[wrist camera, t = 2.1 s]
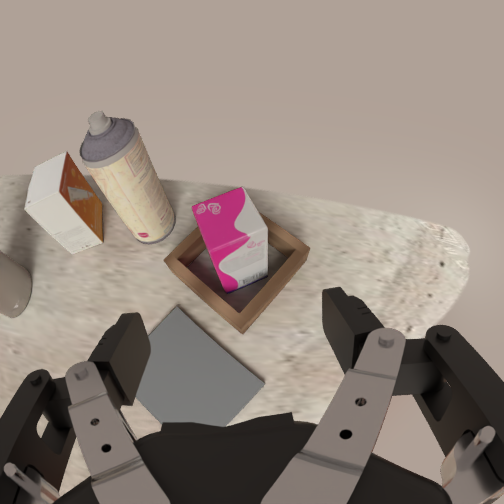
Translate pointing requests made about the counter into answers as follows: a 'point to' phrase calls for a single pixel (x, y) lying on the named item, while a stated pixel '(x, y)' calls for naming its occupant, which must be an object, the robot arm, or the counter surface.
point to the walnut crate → (242, 321)
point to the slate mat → (193, 376)
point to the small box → (65, 204)
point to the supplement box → (234, 238)
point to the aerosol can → (127, 177)
